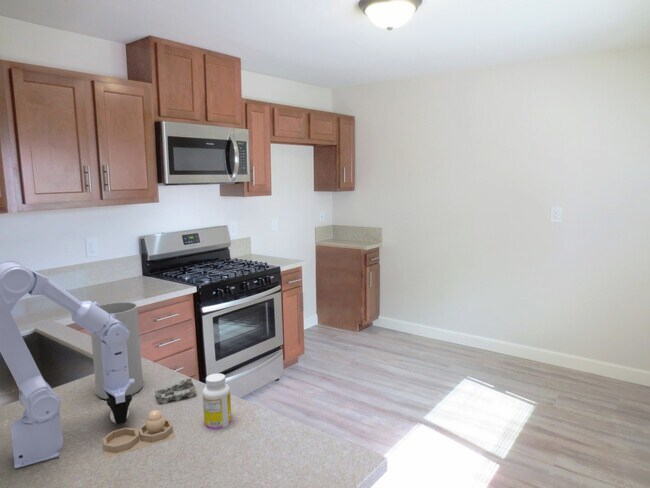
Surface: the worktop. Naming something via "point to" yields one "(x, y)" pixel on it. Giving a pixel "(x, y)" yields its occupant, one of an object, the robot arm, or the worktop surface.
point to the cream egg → (113, 416)
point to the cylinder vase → (129, 317)
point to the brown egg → (155, 422)
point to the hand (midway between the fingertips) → (119, 417)
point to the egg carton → (177, 387)
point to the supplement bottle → (216, 402)
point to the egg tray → (134, 439)
